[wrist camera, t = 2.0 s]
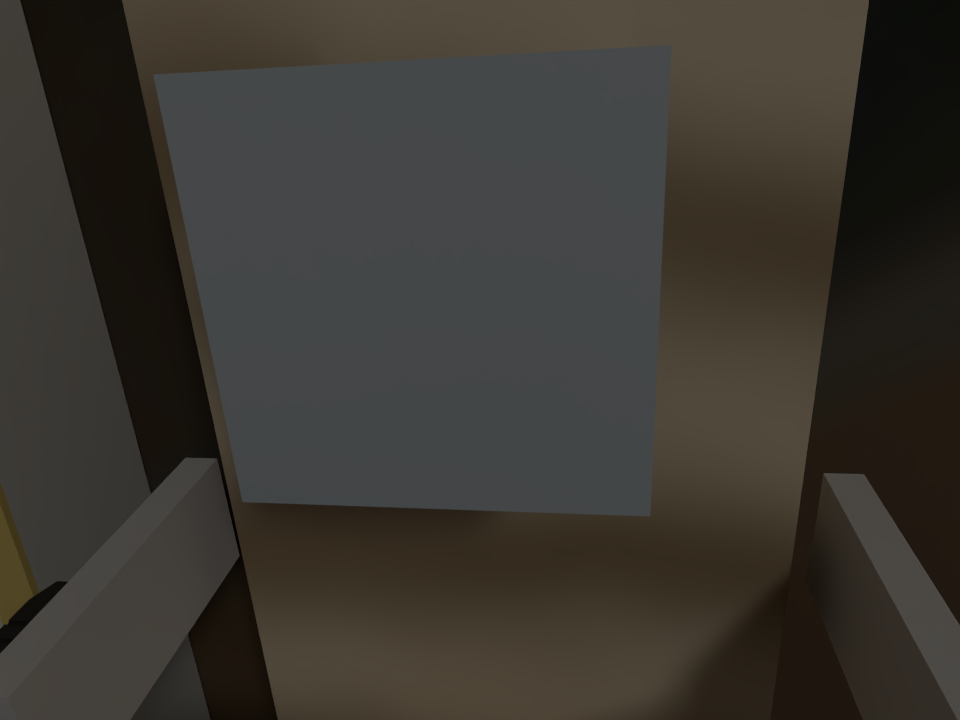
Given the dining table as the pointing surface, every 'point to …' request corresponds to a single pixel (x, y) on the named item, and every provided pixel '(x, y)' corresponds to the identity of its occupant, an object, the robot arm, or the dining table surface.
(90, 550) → the dock
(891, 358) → the dining table surface
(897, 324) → the dining table surface
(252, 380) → the grey cube
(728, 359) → the board
